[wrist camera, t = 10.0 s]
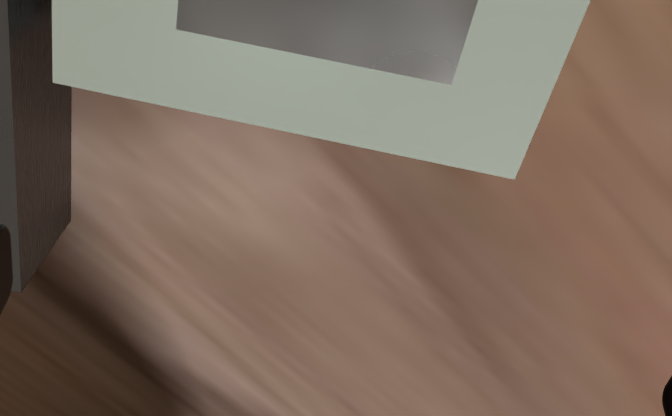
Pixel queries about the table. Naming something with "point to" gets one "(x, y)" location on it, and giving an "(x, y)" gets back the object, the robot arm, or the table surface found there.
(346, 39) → the pin
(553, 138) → the table surface
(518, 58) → the dock
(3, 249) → the robot arm
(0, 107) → the mount
